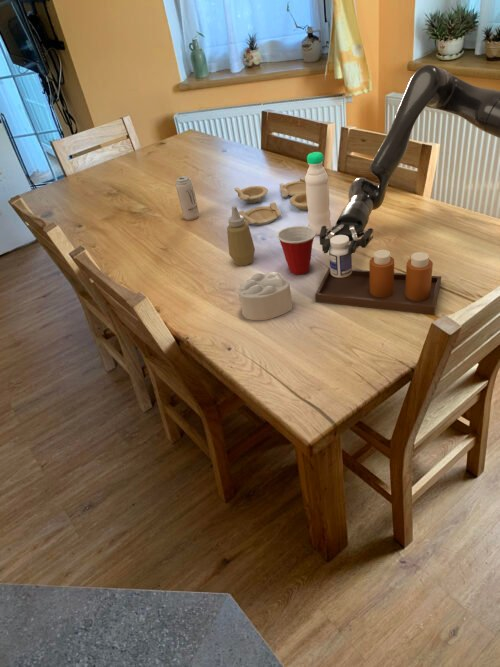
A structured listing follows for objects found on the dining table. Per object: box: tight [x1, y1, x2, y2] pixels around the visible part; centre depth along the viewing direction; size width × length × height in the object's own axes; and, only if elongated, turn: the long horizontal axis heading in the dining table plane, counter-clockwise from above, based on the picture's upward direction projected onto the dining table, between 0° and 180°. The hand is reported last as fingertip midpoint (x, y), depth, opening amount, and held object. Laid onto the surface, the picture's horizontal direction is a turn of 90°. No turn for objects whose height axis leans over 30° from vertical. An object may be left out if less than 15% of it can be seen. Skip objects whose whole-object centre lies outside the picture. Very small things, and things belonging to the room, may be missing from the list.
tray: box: [314, 267, 442, 316], centre depth 129 cm, size 30×14×2 cm, turn 67°
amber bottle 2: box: [405, 251, 434, 301], centre depth 122 cm, size 6×6×11 cm
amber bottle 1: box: [369, 249, 395, 297], centre depth 126 cm, size 6×6×11 cm
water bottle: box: [304, 151, 332, 236], centre depth 154 cm, size 7×7×25 cm
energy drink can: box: [175, 175, 200, 221], centre depth 180 cm, size 6×6×15 cm
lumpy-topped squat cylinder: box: [238, 271, 293, 321], centre depth 129 cm, size 10×13×9 cm
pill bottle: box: [328, 235, 353, 278], centre depth 127 cm, size 6×6×10 cm
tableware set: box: [234, 177, 308, 226], centre depth 182 cm, size 35×29×4 cm
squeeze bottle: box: [226, 205, 256, 266], centre depth 148 cm, size 8×8×18 cm
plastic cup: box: [276, 225, 317, 276], centre depth 141 cm, size 11×11×12 cm
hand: (337, 250), depth 124 cm, fingers closed on pill bottle, 5 cm apart
